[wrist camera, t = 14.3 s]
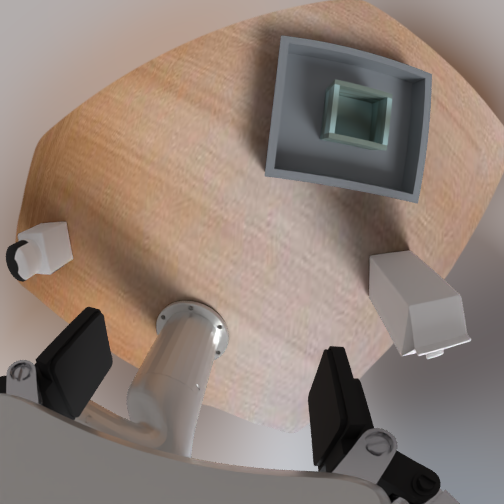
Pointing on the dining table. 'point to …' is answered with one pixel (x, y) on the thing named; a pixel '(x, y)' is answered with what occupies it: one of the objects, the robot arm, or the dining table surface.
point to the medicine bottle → (39, 250)
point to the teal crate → (356, 116)
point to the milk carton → (416, 304)
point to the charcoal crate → (340, 155)
